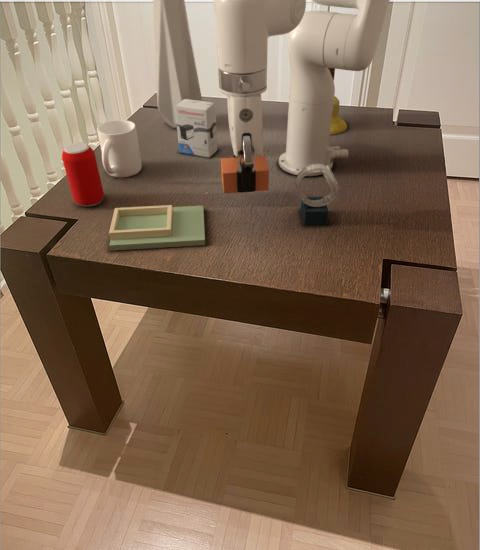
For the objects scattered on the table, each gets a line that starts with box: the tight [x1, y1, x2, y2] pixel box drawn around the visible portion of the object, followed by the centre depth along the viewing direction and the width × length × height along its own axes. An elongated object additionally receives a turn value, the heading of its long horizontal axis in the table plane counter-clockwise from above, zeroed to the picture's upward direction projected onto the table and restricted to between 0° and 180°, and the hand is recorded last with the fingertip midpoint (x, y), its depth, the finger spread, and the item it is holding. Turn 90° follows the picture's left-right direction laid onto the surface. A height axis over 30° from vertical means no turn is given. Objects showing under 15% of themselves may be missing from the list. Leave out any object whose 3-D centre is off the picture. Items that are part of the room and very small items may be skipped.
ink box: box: [175, 99, 218, 158], centre depth 110 cm, size 8×5×12 cm, turn 68°
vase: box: [152, 0, 203, 129], centre depth 117 cm, size 12×12×33 cm
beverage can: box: [61, 142, 105, 208], centre depth 91 cm, size 6×6×12 cm
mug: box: [96, 119, 143, 179], centre depth 101 cm, size 12×8×10 cm
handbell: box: [328, 68, 348, 135], centre depth 118 cm, size 12×12×25 cm
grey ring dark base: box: [295, 163, 340, 227], centre depth 86 cm, size 6×8×11 cm
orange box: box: [220, 155, 270, 194], centre depth 82 cm, size 8×6×4 cm
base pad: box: [108, 204, 206, 252], centre depth 86 cm, size 17×12×3 cm
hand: (244, 181), depth 83 cm, fingers closed on orange box, 5 cm apart
